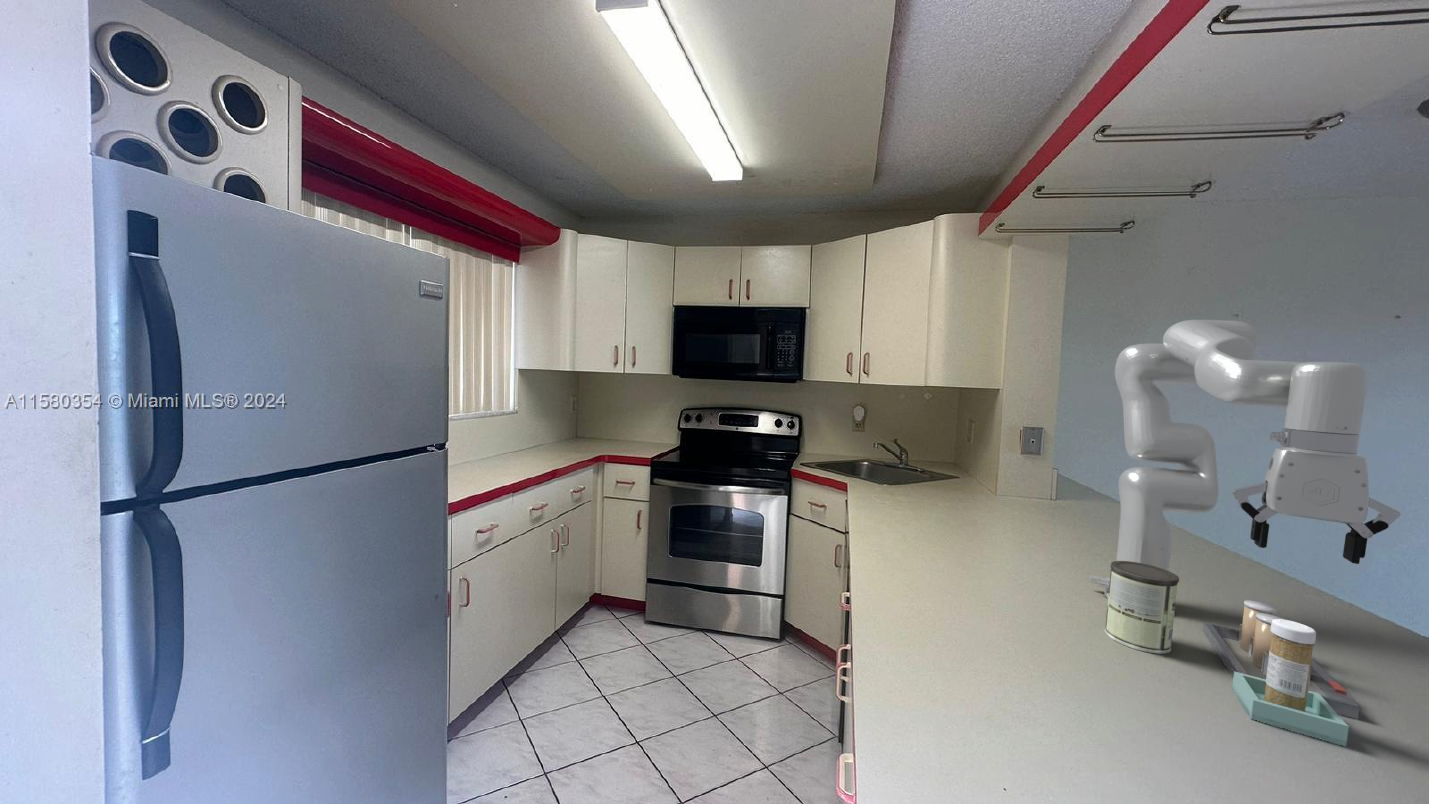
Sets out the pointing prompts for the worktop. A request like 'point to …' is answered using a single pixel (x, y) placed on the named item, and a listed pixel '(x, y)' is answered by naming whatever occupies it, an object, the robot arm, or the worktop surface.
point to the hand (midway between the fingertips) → (1303, 553)
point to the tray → (1290, 711)
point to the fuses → (1257, 629)
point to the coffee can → (1141, 606)
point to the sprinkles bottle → (1289, 664)
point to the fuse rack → (1215, 633)
